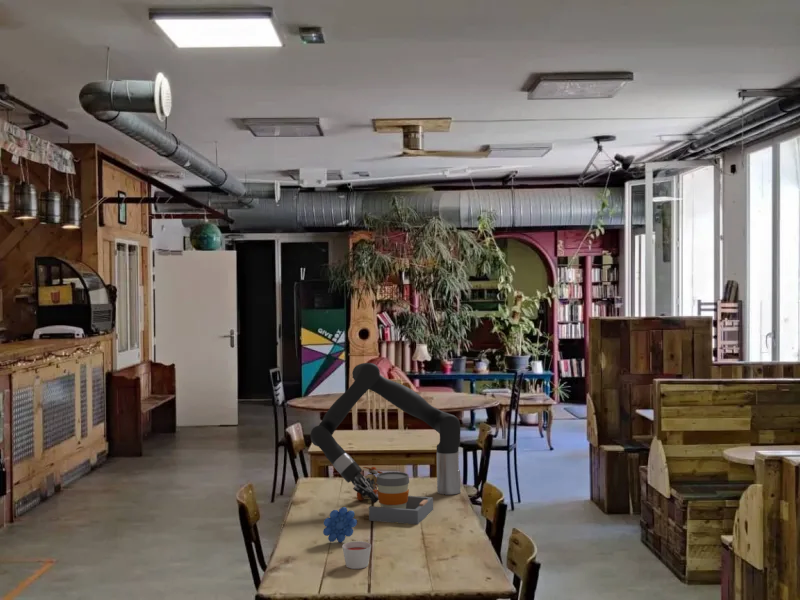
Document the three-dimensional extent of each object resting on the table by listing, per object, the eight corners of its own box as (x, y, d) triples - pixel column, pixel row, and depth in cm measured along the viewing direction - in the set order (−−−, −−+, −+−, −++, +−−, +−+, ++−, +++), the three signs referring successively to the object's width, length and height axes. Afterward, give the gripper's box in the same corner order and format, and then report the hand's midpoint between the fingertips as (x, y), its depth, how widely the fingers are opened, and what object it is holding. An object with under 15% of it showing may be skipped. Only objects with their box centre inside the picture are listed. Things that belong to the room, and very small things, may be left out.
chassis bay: (369, 520, 307) (368, 505, 307) (387, 506, 326) (386, 492, 326) (417, 524, 301) (417, 508, 301) (433, 510, 320) (432, 495, 319)
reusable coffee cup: (410, 509, 320) (409, 471, 320) (409, 518, 308) (408, 478, 308) (378, 510, 321) (377, 471, 321) (376, 519, 308) (375, 479, 308)
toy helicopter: (355, 502, 334) (354, 468, 333) (375, 490, 353) (374, 458, 353) (374, 503, 331) (373, 469, 330) (393, 491, 350) (392, 459, 350)
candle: (356, 559, 263) (355, 539, 263) (377, 564, 257) (377, 544, 257) (336, 566, 256) (336, 546, 256) (357, 572, 250) (357, 551, 250)
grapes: (356, 537, 286) (355, 503, 286) (357, 543, 279) (357, 508, 279) (322, 539, 284) (322, 504, 284) (323, 545, 278) (322, 509, 278)
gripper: (346, 464, 313) (377, 498, 309) (359, 457, 325) (389, 490, 322) (334, 477, 315) (364, 511, 311) (347, 470, 327) (376, 503, 323)
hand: (377, 501), depth 316 cm, fingers closed
